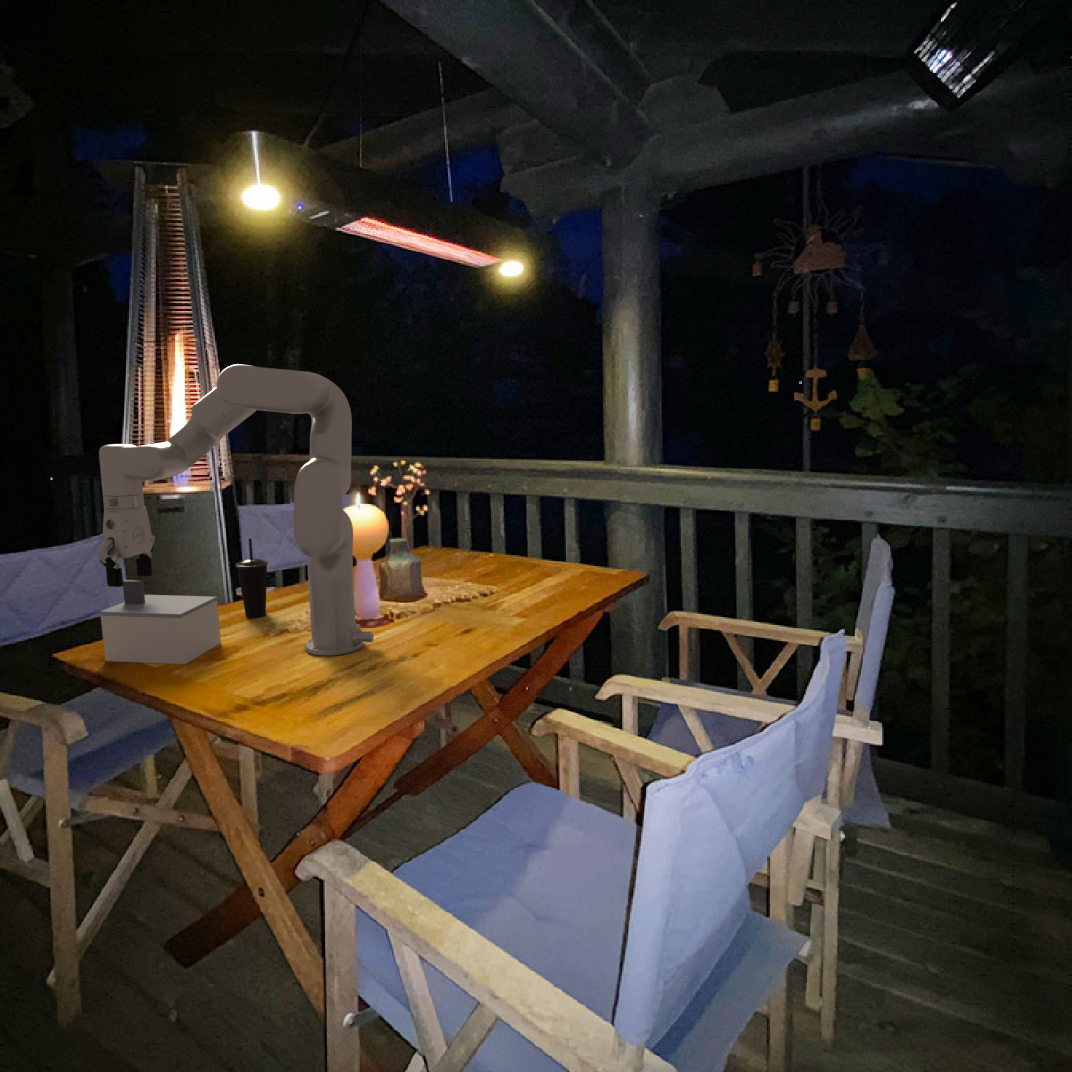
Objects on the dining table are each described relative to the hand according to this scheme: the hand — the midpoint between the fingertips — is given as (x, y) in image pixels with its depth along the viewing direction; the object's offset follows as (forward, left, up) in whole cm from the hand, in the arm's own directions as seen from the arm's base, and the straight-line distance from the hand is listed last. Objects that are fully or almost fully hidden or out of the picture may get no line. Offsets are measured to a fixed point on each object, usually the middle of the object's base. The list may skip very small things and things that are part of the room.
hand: (130, 580), depth 162 cm
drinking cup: (-12, -29, -16) cm, 35 cm away
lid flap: (-6, 0, -6) cm, 9 cm away
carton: (-6, 0, -16) cm, 17 cm away
